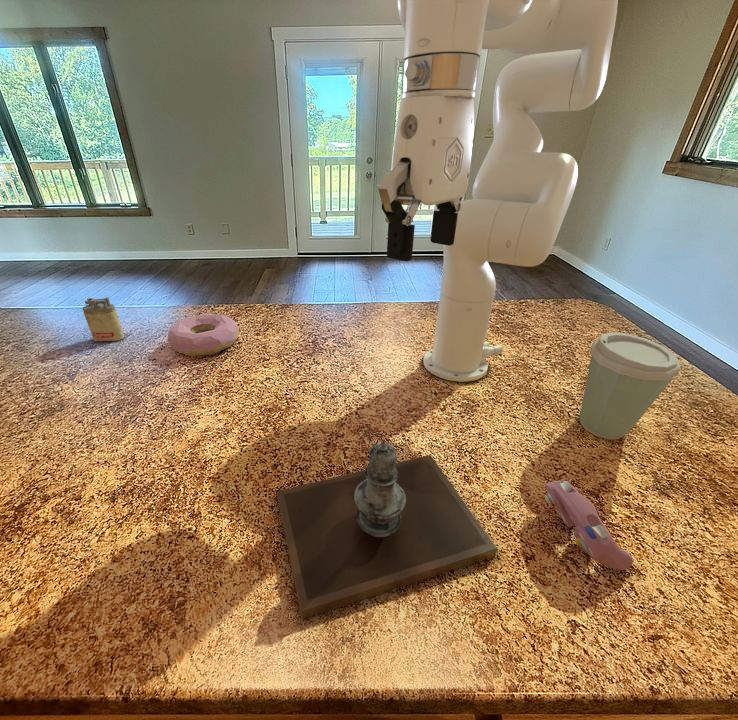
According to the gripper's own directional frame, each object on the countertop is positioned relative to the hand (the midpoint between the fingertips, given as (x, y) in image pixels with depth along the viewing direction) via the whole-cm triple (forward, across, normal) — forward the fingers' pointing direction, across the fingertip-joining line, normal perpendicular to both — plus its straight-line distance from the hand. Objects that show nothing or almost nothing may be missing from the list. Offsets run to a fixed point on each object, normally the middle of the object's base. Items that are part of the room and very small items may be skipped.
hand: (421, 250), depth 48 cm
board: (+28, -18, -8) cm, 34 cm away
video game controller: (+28, -3, -26) cm, 39 cm away
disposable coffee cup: (+28, +21, -24) cm, 43 cm away
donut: (+28, -7, +50) cm, 58 cm away
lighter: (+28, -21, +70) cm, 78 cm away
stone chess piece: (+27, -18, -8) cm, 33 cm away
